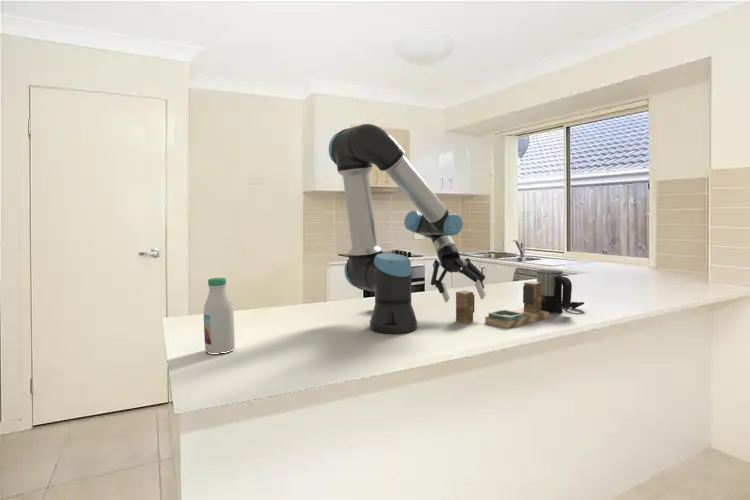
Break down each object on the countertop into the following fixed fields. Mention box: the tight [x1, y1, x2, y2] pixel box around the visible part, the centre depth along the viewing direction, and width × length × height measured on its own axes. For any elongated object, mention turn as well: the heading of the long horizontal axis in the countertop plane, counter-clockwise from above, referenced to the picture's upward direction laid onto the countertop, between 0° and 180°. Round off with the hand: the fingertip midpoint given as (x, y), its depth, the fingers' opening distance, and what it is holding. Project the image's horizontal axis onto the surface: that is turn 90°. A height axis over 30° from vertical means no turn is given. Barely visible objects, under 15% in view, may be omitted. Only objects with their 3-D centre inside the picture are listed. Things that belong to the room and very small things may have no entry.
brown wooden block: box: [455, 290, 475, 324], centre depth 153 cm, size 5×4×10 cm
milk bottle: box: [203, 277, 236, 353], centre depth 124 cm, size 8×8×20 cm
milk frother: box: [536, 269, 585, 314], centre depth 167 cm, size 14×16×15 cm
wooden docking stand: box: [484, 281, 550, 329], centre depth 153 cm, size 22×9×12 cm, turn 125°
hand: (465, 298), depth 155 cm, fingers open, 13 cm apart
